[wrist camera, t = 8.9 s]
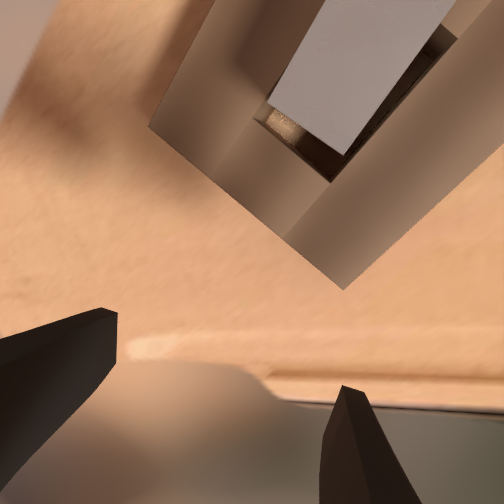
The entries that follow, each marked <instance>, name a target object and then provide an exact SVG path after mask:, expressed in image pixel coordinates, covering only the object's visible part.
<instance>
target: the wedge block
mask: <svg viewBox="0 0 504 504" xmlns="http://www.w3.org/2000/svg"><path fill="white" fill-rule="evenodd" d="M456 1H457V0H326V1H325V2H324V4H323V6H322V7H321V9H320V11H319V13H318V14H317V16H316V18H315V20H314V21H313V23H312V25H311V27H310V28H309V30H308V32H307V34H306V35H305V37H304V39H303V41H302V42H301V44H300V46H299V47H298V49H297V51H296V53H295V54H294V56H293V58H292V60H291V61H290V63H289V65H288V67H287V68H286V70H285V72H284V74H283V75H282V77H281V79H280V81H279V82H278V84H277V86H276V87H275V89H274V91H273V93H272V94H271V96H270V98H269V100H268V101H267V103H269V104H270V105H271V106H273V107H274V108H275V109H277V110H278V111H280V112H281V113H282V114H284V115H285V116H286V117H288V118H289V119H290V120H292V121H293V122H295V123H296V124H298V125H299V126H301V127H302V128H303V129H305V130H306V131H308V132H309V133H311V134H312V135H313V136H315V137H316V138H318V139H319V140H321V141H322V142H324V143H325V144H326V145H328V146H329V147H331V148H332V149H334V150H335V151H336V152H338V153H339V154H341V155H344V154H345V153H346V151H347V150H348V148H349V147H350V146H351V144H352V143H353V142H354V140H355V139H356V137H357V136H358V135H359V133H360V132H361V131H362V129H363V128H364V127H365V125H366V124H367V122H368V121H369V120H370V118H371V117H372V116H373V114H374V113H375V111H376V110H377V109H378V107H379V106H380V105H381V103H382V102H383V100H384V99H385V98H386V96H387V95H388V94H389V92H390V91H391V90H392V88H393V87H394V85H395V84H396V83H397V81H398V80H399V79H400V77H401V76H402V74H403V73H404V72H405V70H406V69H407V68H408V66H409V65H410V64H411V62H412V61H413V59H414V58H415V57H416V55H417V54H418V53H419V51H420V50H421V48H422V47H423V46H424V44H425V43H426V42H427V40H428V39H429V38H430V36H431V35H432V33H433V32H434V31H435V29H436V28H437V27H438V25H439V24H440V22H441V21H442V20H443V18H444V17H445V16H446V14H447V13H448V11H449V10H450V9H451V7H452V6H453V5H454V3H455V2H456Z"/></svg>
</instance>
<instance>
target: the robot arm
mask: <svg viewBox="0 0 504 504" xmlns="http://www.w3.org/2000/svg"><path fill="white" fill-rule="evenodd" d="M117 317H118V313H117V312H114V311H111V310H108V309H105V308H102V307H101V308H97V309H93V310H90V311H86V312H83V313H80V314H77V315H74V316H71V317H68V318H64V319H61V320H58V321H55V322H52V323H49V324H46V325H43V326H40V327H37V328H34V329H31V330H28V331H25V332H22V333H18V334H15V335H12V336H8V337H5V338H2V339H0V492H1V490H2V489H3V488H4V487H5V486H6V484H7V483H8V482H9V481H10V480H11V478H12V477H13V476H14V475H15V474H16V472H17V471H18V470H19V469H20V468H21V467H22V466H23V465H24V464H25V463H26V462H27V460H28V459H29V458H30V457H31V456H32V455H33V454H34V453H35V452H36V451H37V450H38V449H39V448H40V447H41V446H42V445H43V444H44V443H45V442H46V441H47V440H48V439H49V438H50V437H51V436H52V434H54V433H55V431H57V430H58V428H59V427H61V426H62V424H63V423H64V422H65V421H66V420H67V419H68V418H69V417H70V416H71V415H72V414H73V413H74V412H75V411H76V410H77V409H78V408H79V407H80V406H81V405H82V404H83V403H84V402H85V401H86V400H87V399H88V398H89V397H90V396H91V394H92V393H93V392H94V391H95V390H96V389H97V388H98V386H99V385H100V384H101V383H102V381H103V380H104V379H105V377H106V376H107V375H108V373H109V372H110V371H111V369H112V368H113V367H114V365H115V364H116V350H117ZM319 497H320V499H319V503H320V504H422V503H421V501H420V499H419V498H418V496H417V494H416V492H415V490H414V489H413V487H412V485H411V483H410V482H409V480H408V478H407V476H406V474H405V472H404V471H403V469H402V467H401V465H400V463H399V461H398V459H397V457H396V455H395V454H394V452H393V450H392V448H391V446H390V444H389V442H388V440H387V438H386V436H385V434H384V432H383V430H382V428H381V426H380V424H379V422H378V420H377V417H376V415H375V413H374V411H373V409H372V407H371V405H370V403H369V401H368V399H367V397H366V395H365V393H364V392H362V391H359V390H356V389H352V388H349V387H346V386H343V385H342V387H341V390H340V392H339V395H338V398H337V400H336V403H335V406H334V408H333V411H332V414H331V416H330V419H329V422H328V424H327V427H326V430H325V432H324V435H323V442H322V451H321V462H320V473H319Z"/></svg>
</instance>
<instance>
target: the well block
mask: <svg viewBox="0 0 504 504" xmlns="http://www.w3.org/2000/svg"><path fill="white" fill-rule="evenodd" d="M325 1H326V0H215V2H214V4H213V6H212V7H211V9H210V11H209V13H208V15H207V17H206V19H205V21H204V22H203V24H202V26H201V28H200V30H199V32H198V34H197V36H196V37H195V39H194V41H193V43H192V45H191V47H190V49H189V50H188V52H187V54H186V56H185V58H184V60H183V62H182V64H181V65H180V67H179V69H178V71H177V73H176V75H175V77H174V79H173V80H172V82H171V84H170V86H169V88H168V90H167V92H166V94H165V95H164V97H163V99H162V101H161V103H160V105H159V107H158V109H157V110H156V112H155V114H154V116H153V118H152V120H151V122H150V123H149V125H148V127H149V128H150V129H151V130H152V131H154V132H155V133H156V134H157V135H158V136H160V137H161V138H162V139H163V140H164V141H166V142H167V143H168V144H169V145H170V146H172V147H173V148H174V149H175V150H176V151H177V152H179V153H180V154H181V155H182V156H183V157H185V158H186V159H187V160H188V161H189V162H191V163H192V164H193V165H194V166H195V167H197V168H198V169H199V170H200V171H201V172H203V173H204V174H205V175H206V176H207V177H209V178H210V179H211V180H212V181H213V182H215V183H216V184H217V185H218V186H219V187H220V188H222V189H223V190H224V191H225V192H226V193H228V194H229V195H230V196H231V197H232V198H234V199H235V200H236V201H237V202H238V203H240V204H241V205H242V206H243V207H244V208H246V209H247V210H248V211H249V212H250V213H252V214H253V215H254V216H255V217H256V218H258V219H259V220H260V221H261V222H262V223H264V224H265V225H266V226H267V227H268V228H269V229H271V230H272V231H273V232H274V233H275V234H277V235H278V236H279V237H280V238H281V239H283V240H284V241H285V242H286V243H287V244H289V245H290V246H291V247H292V248H293V249H295V250H296V251H297V252H298V253H299V254H301V255H302V256H303V257H304V258H305V259H307V260H308V261H309V262H310V263H311V264H312V265H314V266H315V267H316V268H317V269H318V270H320V271H321V272H322V273H323V274H324V275H326V276H327V277H328V278H329V279H330V280H332V281H333V282H334V283H335V284H336V285H338V286H339V287H340V288H341V289H342V290H344V289H345V288H347V287H348V286H349V285H350V284H351V283H352V282H353V281H354V280H355V279H356V278H357V277H358V276H360V275H361V274H362V273H363V272H364V271H365V270H366V269H367V268H368V267H369V266H370V265H372V264H373V263H374V262H375V261H376V260H377V259H378V258H379V257H380V256H381V255H382V254H383V253H385V252H386V251H387V250H388V249H389V248H390V247H391V246H392V245H393V244H394V243H395V242H397V241H398V240H399V239H400V238H401V237H402V236H403V235H404V234H405V233H406V232H407V231H409V230H410V229H411V228H412V227H413V226H414V225H415V224H416V223H417V222H418V221H419V220H420V219H422V218H423V217H424V216H425V215H426V214H427V213H428V212H429V211H430V210H431V209H432V208H434V207H435V206H436V205H437V204H438V203H439V202H440V201H441V200H442V199H443V198H444V197H445V196H447V195H448V194H449V193H450V192H451V191H452V190H453V189H454V188H455V187H456V186H457V185H459V184H460V183H461V182H462V181H463V180H464V179H465V178H466V177H467V176H468V175H469V174H470V173H472V172H473V171H474V170H475V169H476V168H477V167H478V166H479V165H480V164H481V163H482V162H484V161H485V160H486V159H487V158H488V157H489V156H490V155H491V154H492V153H493V152H494V151H495V150H497V149H498V148H499V147H500V146H501V145H502V144H503V143H504V0H457V1H456V2H455V3H454V5H453V6H452V7H451V9H450V10H449V11H448V13H447V14H446V16H445V17H444V18H443V20H442V21H441V22H440V24H439V25H438V27H437V28H436V29H435V31H434V32H433V33H432V35H431V36H430V38H429V39H428V40H427V42H426V43H425V44H424V46H423V47H422V48H421V50H422V51H423V52H425V53H426V54H427V55H428V56H429V57H430V58H432V59H433V61H432V62H431V64H430V65H429V66H428V67H427V68H426V69H425V71H424V72H423V73H422V74H421V75H420V76H419V77H418V79H417V80H416V81H415V82H414V83H413V84H412V85H411V87H410V88H409V89H408V90H407V91H406V92H405V93H404V95H403V96H402V97H401V98H400V99H399V100H398V101H397V103H396V104H395V105H394V106H393V107H392V108H391V110H390V111H389V112H388V113H387V114H386V115H385V116H384V118H383V119H382V120H381V121H380V122H379V123H378V124H377V126H376V127H375V128H374V129H373V130H372V131H371V132H370V134H369V135H368V136H367V137H366V138H365V139H364V141H363V142H362V143H361V144H360V145H359V146H358V147H357V149H356V150H355V151H354V152H353V153H352V154H351V155H350V157H349V158H348V159H347V160H346V161H345V162H344V163H343V165H342V166H341V167H340V168H339V169H338V170H337V171H336V173H335V174H334V175H333V176H332V177H331V178H330V177H329V176H328V175H326V174H325V173H324V172H323V171H322V170H320V169H319V168H318V167H317V166H316V165H315V164H313V163H312V162H311V161H310V160H309V159H307V158H306V157H305V156H304V155H303V154H302V153H300V152H299V151H298V150H297V149H296V148H294V147H293V146H292V145H291V144H290V143H288V142H287V141H286V140H285V139H284V138H283V137H281V136H280V135H279V134H278V133H277V132H275V131H274V130H273V129H272V128H271V127H270V126H268V125H267V124H266V123H265V122H266V121H267V119H268V118H269V117H270V115H271V114H272V112H273V111H274V109H275V108H274V107H273V106H271V105H270V104H269V103H267V101H268V100H269V98H270V96H271V94H272V93H273V91H274V89H275V87H276V86H277V84H278V82H279V81H280V79H281V77H282V75H283V74H284V72H285V70H286V68H287V67H288V65H289V63H290V61H291V60H292V58H293V56H294V54H295V53H296V51H297V49H298V47H299V46H300V44H301V42H302V41H303V39H304V37H305V35H306V34H307V32H308V30H309V28H310V27H311V25H312V23H313V21H314V20H315V18H316V16H317V14H318V13H319V11H320V9H321V7H322V6H323V4H324V2H325Z"/></svg>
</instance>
